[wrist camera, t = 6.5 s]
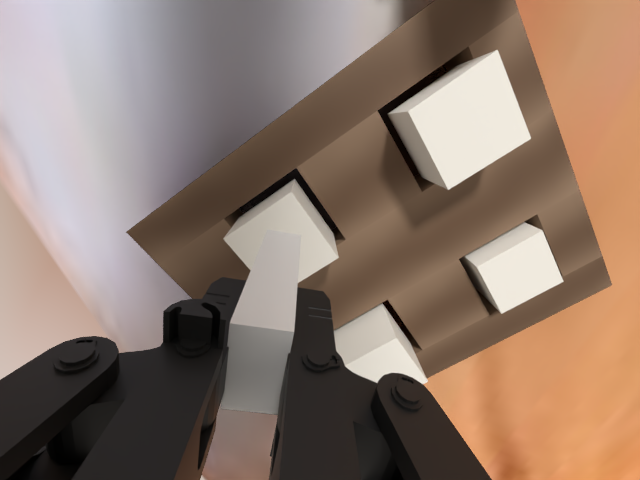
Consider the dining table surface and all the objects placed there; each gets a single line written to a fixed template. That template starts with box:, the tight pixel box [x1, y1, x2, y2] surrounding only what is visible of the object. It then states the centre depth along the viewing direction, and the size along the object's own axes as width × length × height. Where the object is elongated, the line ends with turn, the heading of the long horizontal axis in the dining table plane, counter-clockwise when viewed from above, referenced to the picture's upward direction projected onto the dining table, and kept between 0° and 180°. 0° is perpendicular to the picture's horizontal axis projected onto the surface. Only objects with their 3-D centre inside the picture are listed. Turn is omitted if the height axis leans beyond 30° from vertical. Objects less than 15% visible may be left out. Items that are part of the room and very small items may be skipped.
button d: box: [459, 222, 564, 314], centre depth 19 cm, size 4×4×4 cm
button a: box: [223, 179, 339, 283], centre depth 16 cm, size 4×4×4 cm
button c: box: [388, 50, 531, 190], centre depth 14 cm, size 4×4×4 cm
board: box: [127, 0, 612, 378], centre depth 19 cm, size 20×22×4 cm
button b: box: [334, 303, 428, 384], centre depth 19 cm, size 4×4×4 cm
